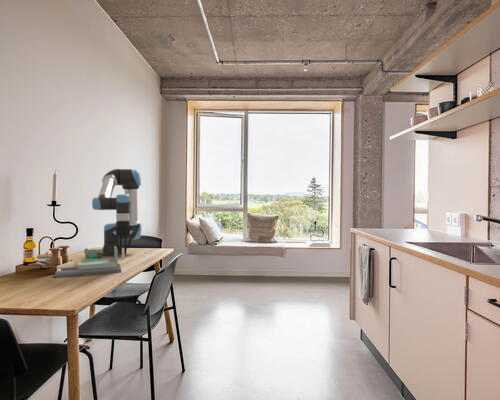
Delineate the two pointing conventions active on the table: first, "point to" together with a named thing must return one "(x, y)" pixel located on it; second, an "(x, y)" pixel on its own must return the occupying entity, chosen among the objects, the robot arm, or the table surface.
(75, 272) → the grey board
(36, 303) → the table surface
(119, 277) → the table surface
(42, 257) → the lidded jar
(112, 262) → the pale green tray
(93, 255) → the food container
